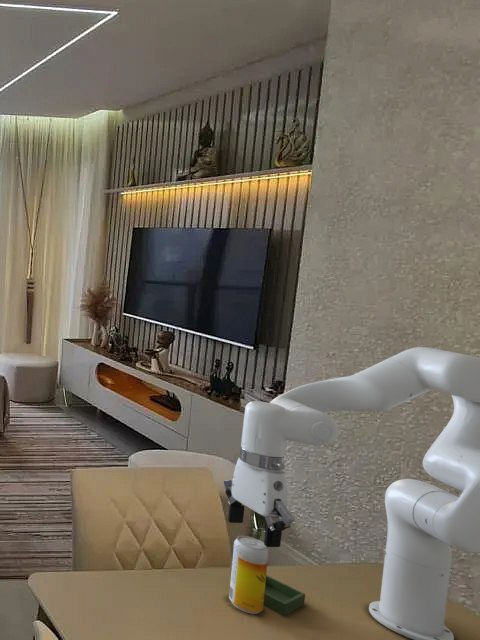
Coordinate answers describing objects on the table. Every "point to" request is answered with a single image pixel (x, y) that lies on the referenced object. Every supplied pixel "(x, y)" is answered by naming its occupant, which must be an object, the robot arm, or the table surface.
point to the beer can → (248, 574)
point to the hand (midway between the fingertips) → (252, 533)
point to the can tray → (282, 596)
